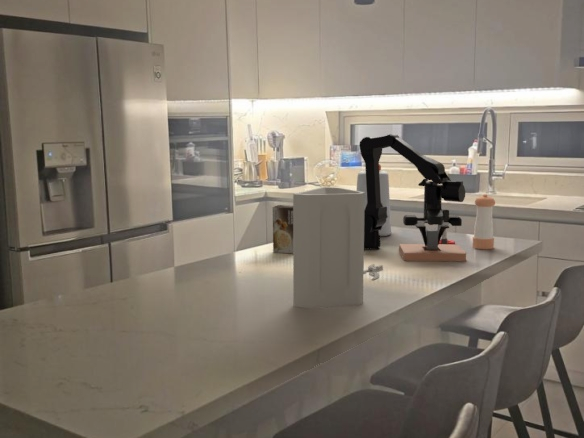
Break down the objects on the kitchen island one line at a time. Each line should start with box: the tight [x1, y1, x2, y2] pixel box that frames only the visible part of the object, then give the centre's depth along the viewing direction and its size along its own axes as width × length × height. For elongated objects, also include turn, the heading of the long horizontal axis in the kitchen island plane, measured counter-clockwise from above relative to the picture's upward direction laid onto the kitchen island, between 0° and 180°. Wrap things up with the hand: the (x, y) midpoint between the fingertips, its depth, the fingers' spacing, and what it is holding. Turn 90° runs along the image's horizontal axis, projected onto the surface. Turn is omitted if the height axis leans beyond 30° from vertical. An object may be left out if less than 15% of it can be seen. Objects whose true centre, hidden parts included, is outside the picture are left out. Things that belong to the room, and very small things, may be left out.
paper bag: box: [292, 186, 365, 309], centre depth 168 cm, size 19×15×28 cm
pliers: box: [363, 263, 384, 281], centre depth 199 cm, size 10×2×15 cm
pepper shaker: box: [472, 194, 496, 250], centre depth 238 cm, size 7×7×19 cm
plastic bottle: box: [355, 164, 392, 237], centre depth 267 cm, size 15×15×28 cm
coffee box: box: [271, 204, 293, 255], centre depth 231 cm, size 9×6×16 cm
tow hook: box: [439, 228, 456, 244], centre depth 246 cm, size 8×13×9 cm
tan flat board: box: [398, 243, 467, 262], centre depth 224 cm, size 20×16×2 cm
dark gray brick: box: [425, 228, 438, 251], centre depth 224 cm, size 4×5×8 cm
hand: (431, 245), depth 224 cm, fingers closed on dark gray brick, 3 cm apart
